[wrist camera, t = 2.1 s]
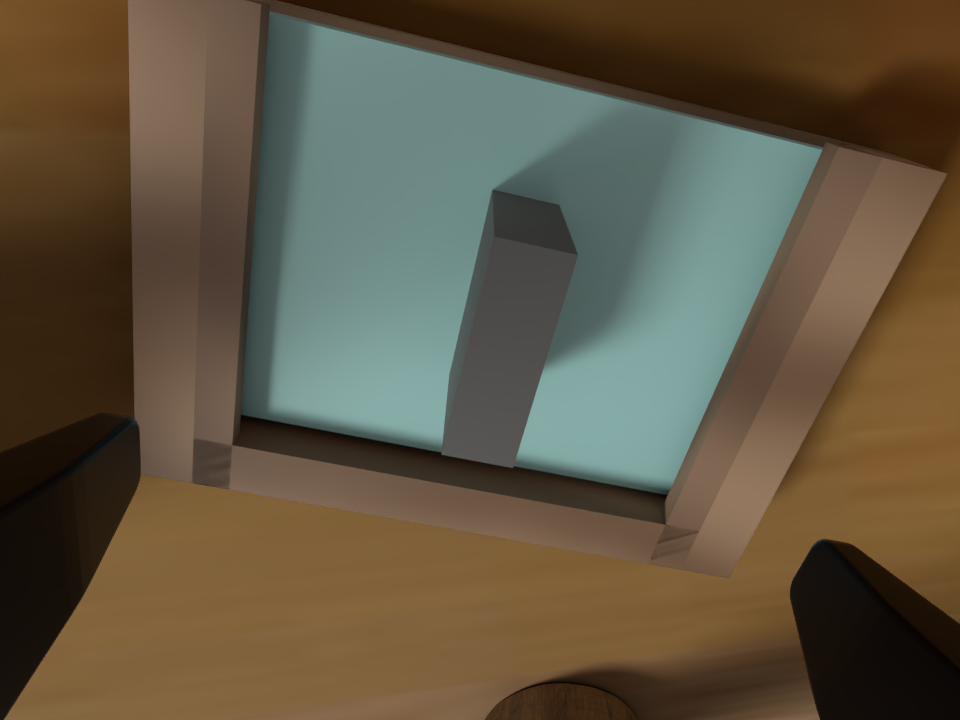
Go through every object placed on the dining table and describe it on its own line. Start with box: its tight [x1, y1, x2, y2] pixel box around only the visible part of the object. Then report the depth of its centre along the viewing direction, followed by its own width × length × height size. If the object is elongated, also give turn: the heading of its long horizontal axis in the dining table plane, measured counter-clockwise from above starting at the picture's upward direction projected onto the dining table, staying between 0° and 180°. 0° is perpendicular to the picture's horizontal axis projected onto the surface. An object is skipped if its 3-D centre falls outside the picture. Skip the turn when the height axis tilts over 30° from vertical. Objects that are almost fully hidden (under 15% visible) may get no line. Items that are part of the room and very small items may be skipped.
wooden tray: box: [128, 0, 947, 578], centre depth 17 cm, size 12×17×3 cm
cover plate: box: [241, 11, 824, 495], centre depth 16 cm, size 10×13×4 cm
